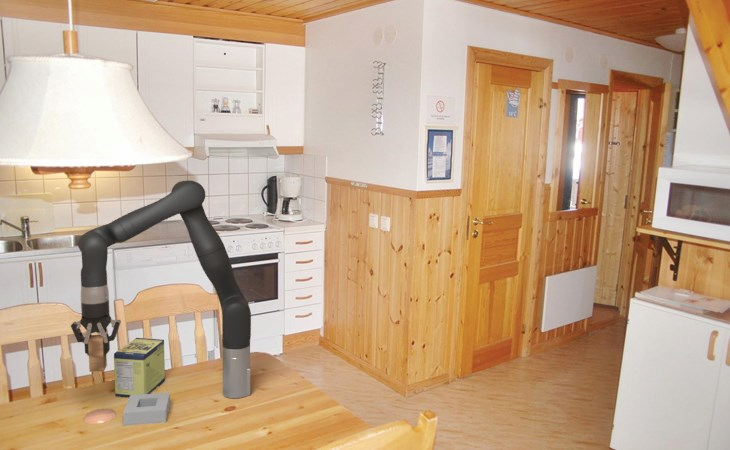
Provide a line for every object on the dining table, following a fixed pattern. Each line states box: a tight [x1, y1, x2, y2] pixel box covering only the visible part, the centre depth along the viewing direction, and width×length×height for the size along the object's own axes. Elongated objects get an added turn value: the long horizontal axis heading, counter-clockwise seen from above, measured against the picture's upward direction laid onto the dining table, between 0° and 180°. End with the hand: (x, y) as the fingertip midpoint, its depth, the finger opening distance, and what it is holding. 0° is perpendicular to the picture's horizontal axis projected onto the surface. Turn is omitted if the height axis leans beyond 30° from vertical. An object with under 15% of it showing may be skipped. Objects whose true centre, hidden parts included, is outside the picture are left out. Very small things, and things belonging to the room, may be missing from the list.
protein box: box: [113, 337, 166, 399], centre depth 194 cm, size 10×16×16 cm
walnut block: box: [88, 334, 108, 373], centre depth 171 cm, size 4×4×10 cm
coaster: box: [83, 408, 117, 425], centre depth 175 cm, size 9×9×1 cm
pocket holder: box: [122, 392, 171, 427], centre depth 177 cm, size 12×12×4 cm
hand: (97, 353), depth 172 cm, fingers closed on walnut block, 4 cm apart
